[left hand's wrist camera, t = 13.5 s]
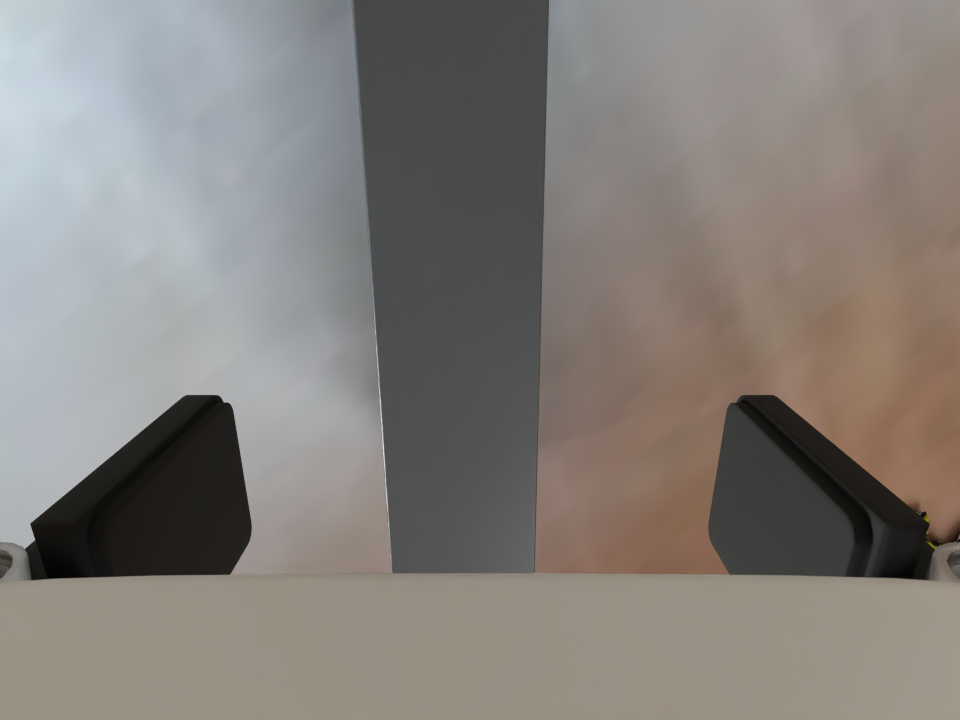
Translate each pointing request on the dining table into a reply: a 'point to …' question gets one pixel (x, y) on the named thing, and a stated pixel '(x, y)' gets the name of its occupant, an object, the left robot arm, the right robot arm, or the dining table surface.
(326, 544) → the dining table surface
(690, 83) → the dining table surface
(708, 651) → the left robot arm
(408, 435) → the beam
